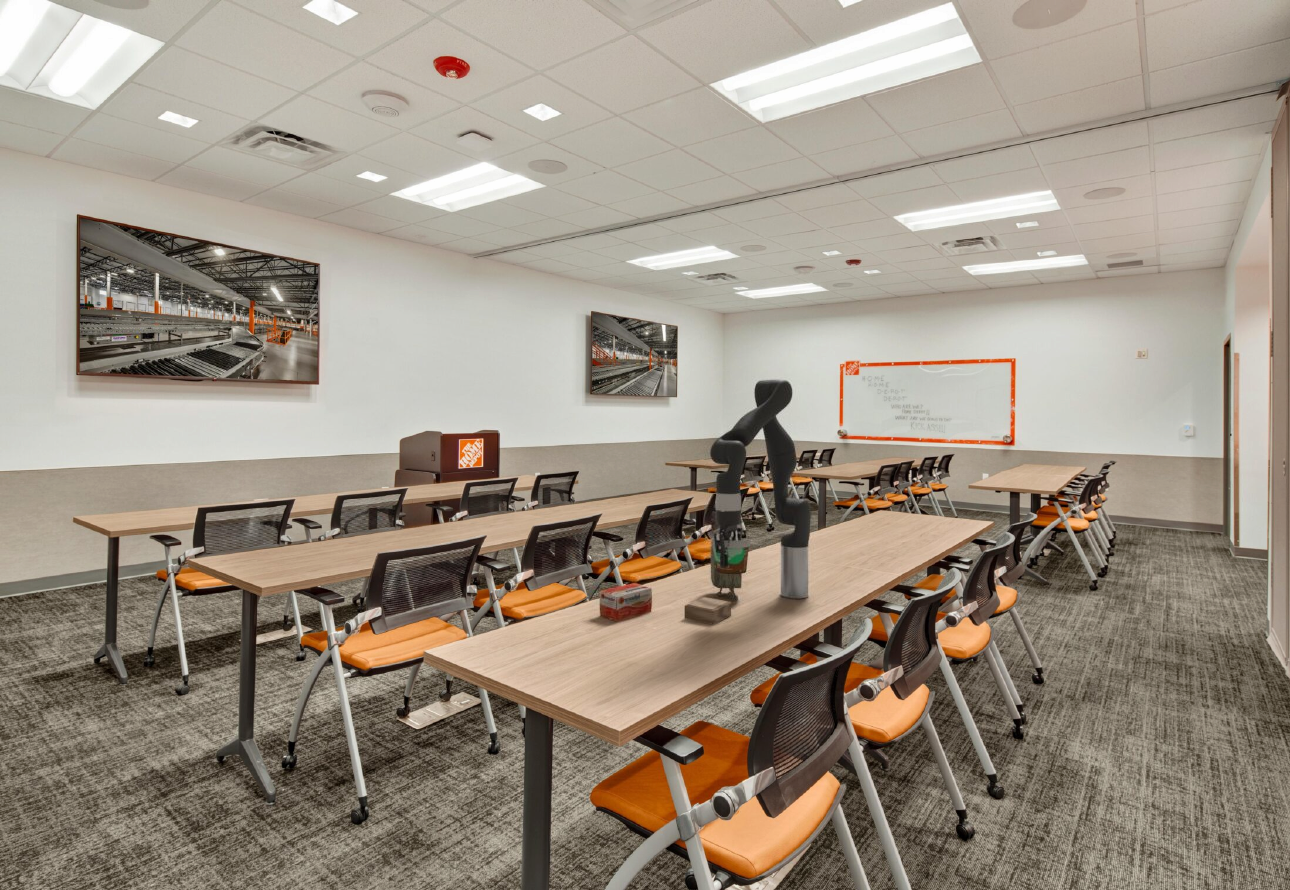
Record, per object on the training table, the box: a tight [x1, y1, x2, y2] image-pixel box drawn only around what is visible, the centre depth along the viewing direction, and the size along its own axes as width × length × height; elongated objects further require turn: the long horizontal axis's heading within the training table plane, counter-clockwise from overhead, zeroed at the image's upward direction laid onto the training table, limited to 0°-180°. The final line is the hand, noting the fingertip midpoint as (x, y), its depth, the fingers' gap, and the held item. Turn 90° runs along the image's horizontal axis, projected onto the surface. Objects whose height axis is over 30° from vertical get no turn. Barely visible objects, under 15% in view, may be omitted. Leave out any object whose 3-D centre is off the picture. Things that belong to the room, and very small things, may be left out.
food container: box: [710, 535, 752, 575], centre depth 192 cm, size 12×6×10 cm, turn 64°
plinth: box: [684, 596, 732, 625], centre depth 199 cm, size 11×10×4 cm
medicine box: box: [599, 582, 653, 623], centre depth 202 cm, size 15×8×8 cm, turn 134°
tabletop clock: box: [710, 545, 743, 601], centre depth 222 cm, size 14×9×25 cm, turn 179°
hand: (728, 564), depth 193 cm, fingers closed on food container, 5 cm apart
